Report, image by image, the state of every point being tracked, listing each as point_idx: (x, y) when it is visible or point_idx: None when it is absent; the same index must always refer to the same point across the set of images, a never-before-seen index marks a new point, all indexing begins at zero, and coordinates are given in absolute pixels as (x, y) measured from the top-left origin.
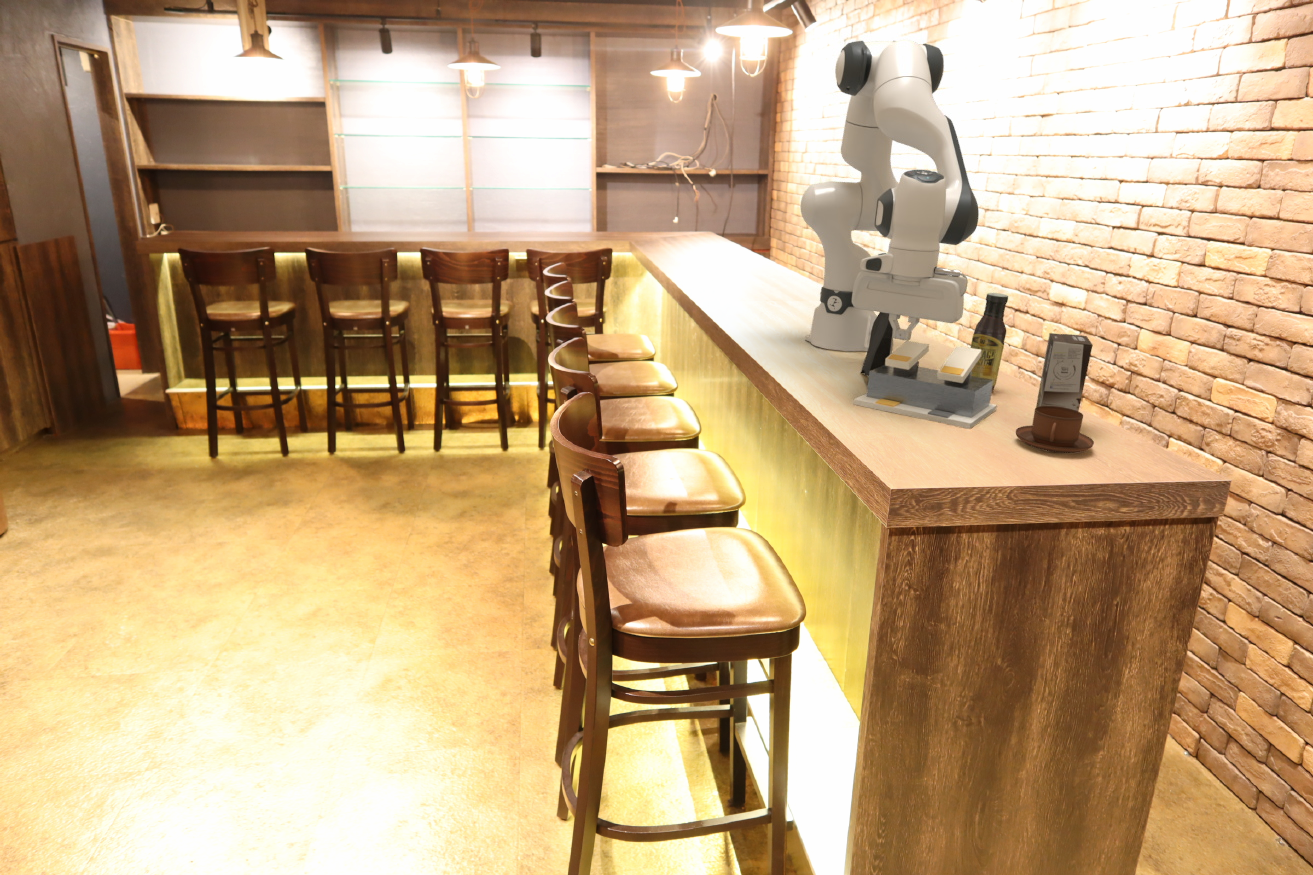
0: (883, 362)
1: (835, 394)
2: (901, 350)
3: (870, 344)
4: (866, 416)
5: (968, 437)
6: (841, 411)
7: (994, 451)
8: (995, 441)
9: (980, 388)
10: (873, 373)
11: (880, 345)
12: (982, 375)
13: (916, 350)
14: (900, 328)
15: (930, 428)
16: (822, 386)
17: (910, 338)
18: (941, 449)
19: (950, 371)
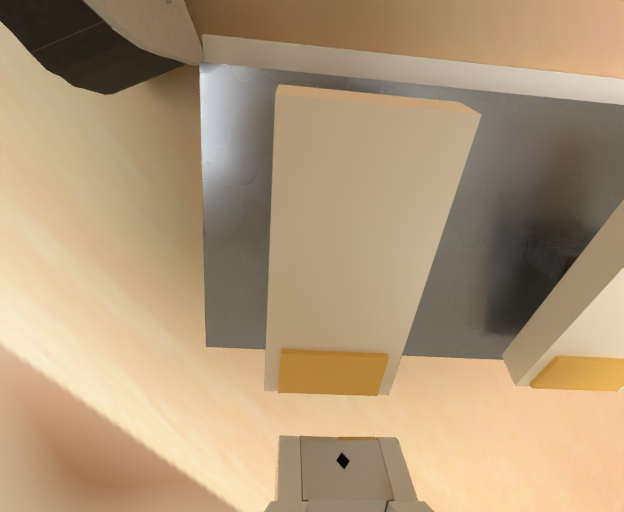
0: (154, 67)
1: (107, 264)
2: (306, 282)
3: None
4: (288, 408)
5: (543, 409)
6: (218, 409)
7: (593, 457)
8: (603, 400)
9: None
10: (226, 343)
11: (72, 73)
12: None
13: (399, 255)
14: (312, 503)
15: (453, 401)
16: (4, 190)
17: (397, 440)
18: (489, 501)
19: (577, 385)
